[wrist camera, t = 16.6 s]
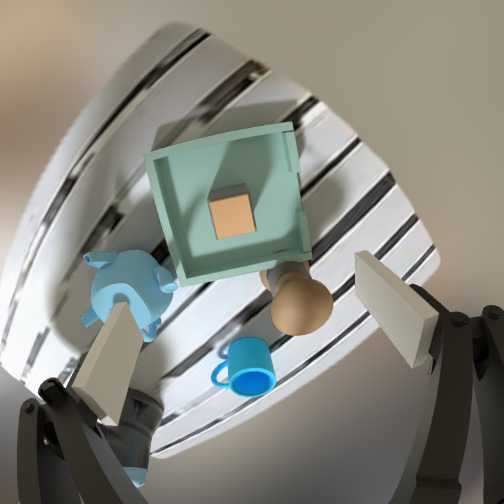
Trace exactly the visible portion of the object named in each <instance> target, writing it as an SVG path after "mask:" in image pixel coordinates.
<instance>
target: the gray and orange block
mask: <svg viewBox="0 0 504 504" xmlns="http://www.w3.org/2000/svg"><path fill="white" fill-rule="evenodd" d="M207 204H208V208H209V212H210V216H211V220H212V224H213V228H214V232H215V236H216V240H219V239H223V238H228V237H233V236H237V235H242V234H246V233H251V232H256V231H257V227H256V221H255V216H254V211H253V206H252V201H251V196H250V191H249V189H248V187H247V186H246V184H245V183H242V184H237V185H232V186H228V187H223V188H219V189H214V190H210V192H209V195H208V197H207Z"/></svg>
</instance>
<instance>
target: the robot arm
mask: <svg viewBox="0 0 504 504" xmlns="http://www.w3.org/2000/svg"><path fill="white" fill-rule="evenodd" d="M355 295H356V296H357V297H358V299H359V300H360V301H361V302H362V303H363V305H364V306H365V307H366V309H367V310H368V311H369V312H370V314H371V315H372V316H373V317H374V319H375V320H376V321H377V322H378V324H379V325H380V326H381V328H382V329H383V330H384V332H385V333H386V334H387V335H388V337H389V338H390V339H391V341H392V342H393V343H394V345H395V346H396V347H397V349H398V350H399V351H400V353H401V354H402V355H403V357H404V358H405V360H406V361H407V362H408V364H409V365H410V366H411V368H412V369H413V368H415V367H417V366H419V365H421V364H423V363H425V362H426V359H427V356H428V353H429V354H430V355H431V356H432V357H433V360H432V362H431V365H430V368H429V371H428V374H429V380H428V386H427V391H426V396H425V400H424V405H423V409H422V413H421V418H420V421H419V425H418V429H417V432H416V436H415V439H414V442H413V445H412V449H411V452H410V454H409V457H408V460H407V463H406V466H405V468H404V471H403V474H402V476H401V479H400V481H399V483H398V486H397V488H396V491H395V493H394V495H393V497H392V499H391V501H390V502H389V504H458V501H459V498H460V494H461V490H462V488H461V484H460V483H459V481H458V478H459V473H460V470H461V465H462V461H463V457H464V452H465V446H466V441H467V435H468V429H469V421H470V413H471V401H472V387H473V384H474V389H475V394H476V399H477V405H478V411H479V417H480V424H481V434H482V445H483V461H484V489H483V490H484V491H483V494H484V496H483V498H484V499H483V500H484V504H504V311H503V309H501V308H500V307H498V306H494V305H489V306H486V307H484V308H483V311H482V314H481V316H479V317H474V318H469V317H468V316H467V315H466V314H464V313H461V312H449V311H448V310H447V309H446V308H445V307H444V306H443V305H442V304H441V303H439V302H438V301H437V300H436V299H435V298H433V296H431V295H430V294H428V292H427V291H425V289H423V288H422V287H420V286H418V285H415V284H411V285H407V284H406V283H405V282H404V281H403V280H401V279H400V278H399V277H398V276H397V275H396V274H394V273H393V272H392V271H391V270H390V269H389V268H387V267H386V266H385V265H384V264H383V263H381V262H380V261H379V260H378V259H377V258H375V257H374V256H373V255H372V254H370V253H369V252H368V251H367V250H365V251H361V252H357V253H355ZM143 341H144V337H143V335H142V333H141V331H140V329H139V327H138V325H137V323H136V321H135V319H134V317H133V314H132V312H131V310H130V308H129V306H128V304H127V302H121V303H116V304H115V306H114V307H113V309H112V311H111V312H110V314H109V316H108V318H107V319H106V321H105V323H104V325H103V326H102V328H101V330H100V332H99V334H98V335H97V337H96V339H95V341H94V343H93V345H92V347H91V348H90V350H89V352H86V353H85V354H84V355H83V356H82V357H81V359H80V361H79V363H78V364H77V367H76V368H75V370H74V372H73V374H72V376H71V378H70V380H69V382H68V384H67V386H66V389H65V388H64V386H63V385H62V384H61V382H60V381H59V380H58V379H57V378H55V377H54V378H49V379H47V380H45V381H44V382H43V383H42V384H41V385H40V387H39V389H38V394H39V395H40V397H41V398H42V399H43V400H44V402H43V403H42V405H41V404H40V403H39V402H38V401H37V400H36V399H34V398H30V399H28V400H26V401H25V402H24V403H23V405H22V406H21V409H20V415H19V426H18V442H17V477H18V478H17V480H18V494H19V504H81V501H80V496H79V493H80V495H81V497H82V499H83V501H84V503H85V504H148V503H147V501H146V500H145V499H144V497H143V496H142V495H141V493H140V492H139V491H138V490H137V487H141V486H143V484H144V483H145V481H146V476H147V473H148V462H149V454H150V447H151V440H152V436H153V434H154V433H155V431H156V429H157V428H158V426H159V424H160V423H161V421H162V416H163V410H162V408H161V406H160V405H159V404H158V403H157V402H156V401H155V400H154V399H153V398H151V397H150V396H148V395H146V394H144V393H142V392H139V391H136V390H133V389H129V388H128V387H129V384H130V381H131V378H132V374H133V371H134V368H135V365H136V362H137V359H138V356H139V353H140V350H141V347H142V344H143ZM98 418H99V420H100V421H101V422H102V423H103V424H104V425H102V424H101V423H99V422H97V419H98ZM78 491H79V492H78Z"/></svg>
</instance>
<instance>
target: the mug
mask: <svg viewBox="0 0 504 504" xmlns="http://www.w3.org/2000/svg"><path fill="white" fill-rule="evenodd" d="M227 355H228V360H226V361H224V362H222V363H221V364H219V365H218V366H217V367H216V368H215V369H214V371H213V372H212V375H211V380H212V383H213V384H214V385H215V386H217V387H220V388H225V389H229V388H230V389H231V390H232V391H233V392H234V393H235V394H237V395H239V396H243V397H257V396H261V395H264V394H266V393H268V392H269V391H271V390H272V389H273V388H274V386H275V384H276V377H275V372H274V368H273V364H272V359H271V355H270V350H269V346H268V345H267V344H266V342H265V341H263V340H261V339H259V338H255V337H245V338H241V339H238V340H236V341H234V342H233V343H232V344H231V345H230V347H229V349H228V354H227ZM226 366H228V377H229V383H228V384H224V383H219V382H218V381H217V379H216V377H217V375H218V373H219V372H220V371H221V370H222V369H223V368H224V367H226Z"/></svg>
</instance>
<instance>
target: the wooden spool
mask: <svg viewBox="0 0 504 504" xmlns="http://www.w3.org/2000/svg"><path fill="white" fill-rule="evenodd" d="M283 250H285V249H282V250H279V251H283ZM276 253H277V251H276ZM309 270H310V269H309V263H308V261H302V262H296V261H286V262H283V263H280V264H279V265H277V266H276V267H275V268H271V269H266V270H262V271H260V277H261V280H262V283H263V284H264V286H265V287H266V288H267V289H268V290H269V291H271V293H272V295H273V297H274V298H273V300H272V303H271V307H270V312H271V316H272V320H273V323H274V325H275V326H276V327H277V328H278V329H279V330H280V331H281V332H283V333H285V334H288V335H293V336H300V335H306V334H309V333H312V332H314V331H316V330H317V329H319V328H320V327H321V326H323V325H324V324H325V323H326V321H327V320H328V319H329V317H330V315H331V313H332V310H333V298H332V296H331V293H330V292H329V291H328V289H327V288H326V286H325V285H324V284H322V283H321V282H319V281H317V280H314V279H312V278H311V276H310V274H309Z"/></svg>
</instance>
